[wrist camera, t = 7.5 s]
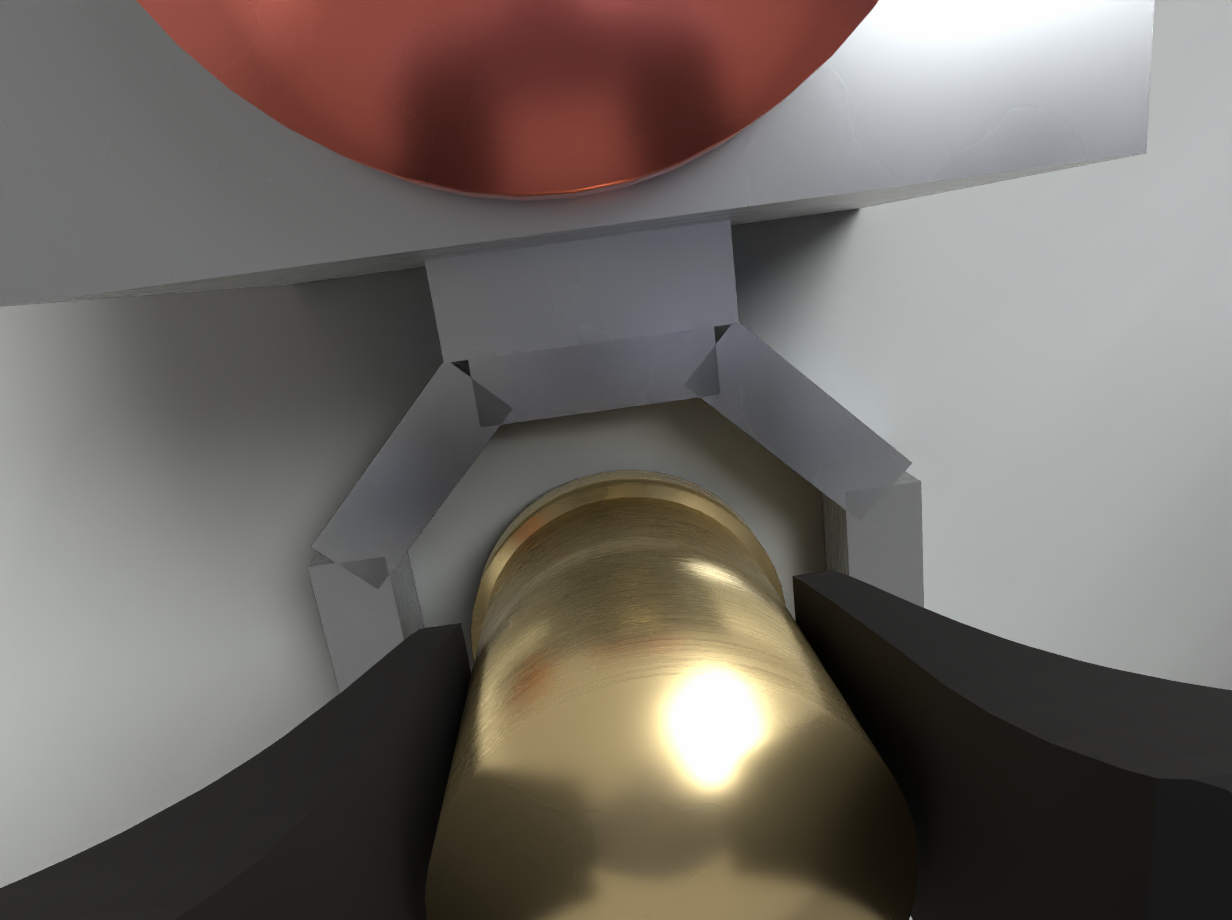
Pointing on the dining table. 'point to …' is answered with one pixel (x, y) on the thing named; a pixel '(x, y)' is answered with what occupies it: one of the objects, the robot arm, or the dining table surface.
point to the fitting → (656, 731)
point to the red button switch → (536, 201)
